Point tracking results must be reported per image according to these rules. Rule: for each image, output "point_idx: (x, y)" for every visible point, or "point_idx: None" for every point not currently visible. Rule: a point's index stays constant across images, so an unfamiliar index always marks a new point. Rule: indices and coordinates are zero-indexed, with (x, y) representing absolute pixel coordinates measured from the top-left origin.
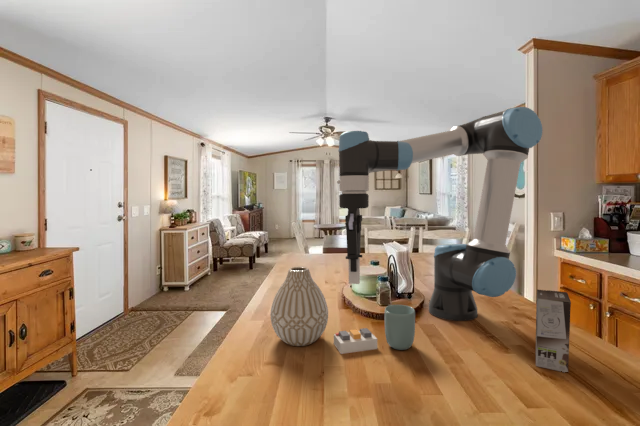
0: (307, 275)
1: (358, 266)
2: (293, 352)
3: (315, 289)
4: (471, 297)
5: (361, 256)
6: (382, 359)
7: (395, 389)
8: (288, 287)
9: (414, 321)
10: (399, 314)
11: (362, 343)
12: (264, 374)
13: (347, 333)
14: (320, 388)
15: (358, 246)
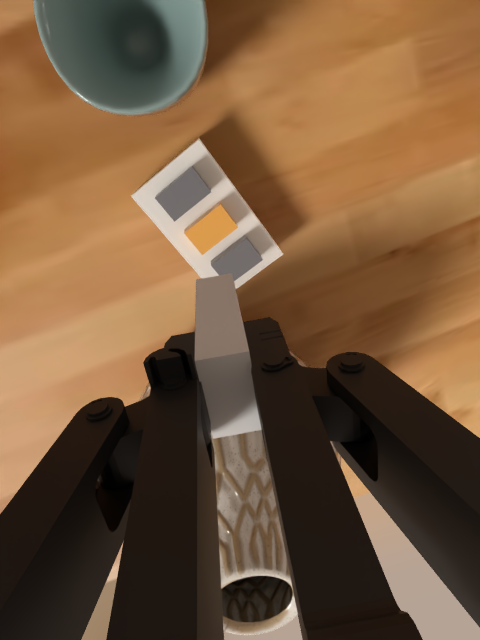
0: (270, 538)
1: (241, 324)
2: (309, 365)
3: (257, 454)
4: None
5: (190, 353)
6: (271, 99)
7: (446, 13)
8: None
9: None
10: (203, 6)
11: (235, 188)
12: (430, 371)
13: (234, 252)
14: (469, 228)
15: (197, 448)
